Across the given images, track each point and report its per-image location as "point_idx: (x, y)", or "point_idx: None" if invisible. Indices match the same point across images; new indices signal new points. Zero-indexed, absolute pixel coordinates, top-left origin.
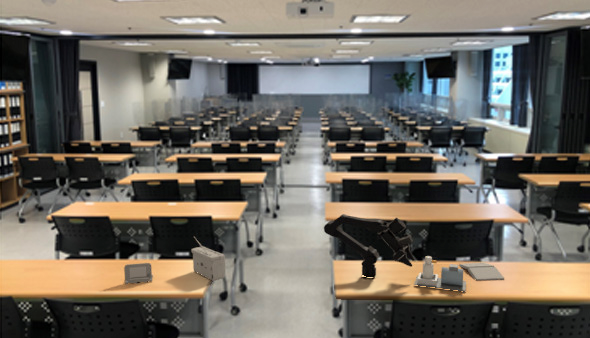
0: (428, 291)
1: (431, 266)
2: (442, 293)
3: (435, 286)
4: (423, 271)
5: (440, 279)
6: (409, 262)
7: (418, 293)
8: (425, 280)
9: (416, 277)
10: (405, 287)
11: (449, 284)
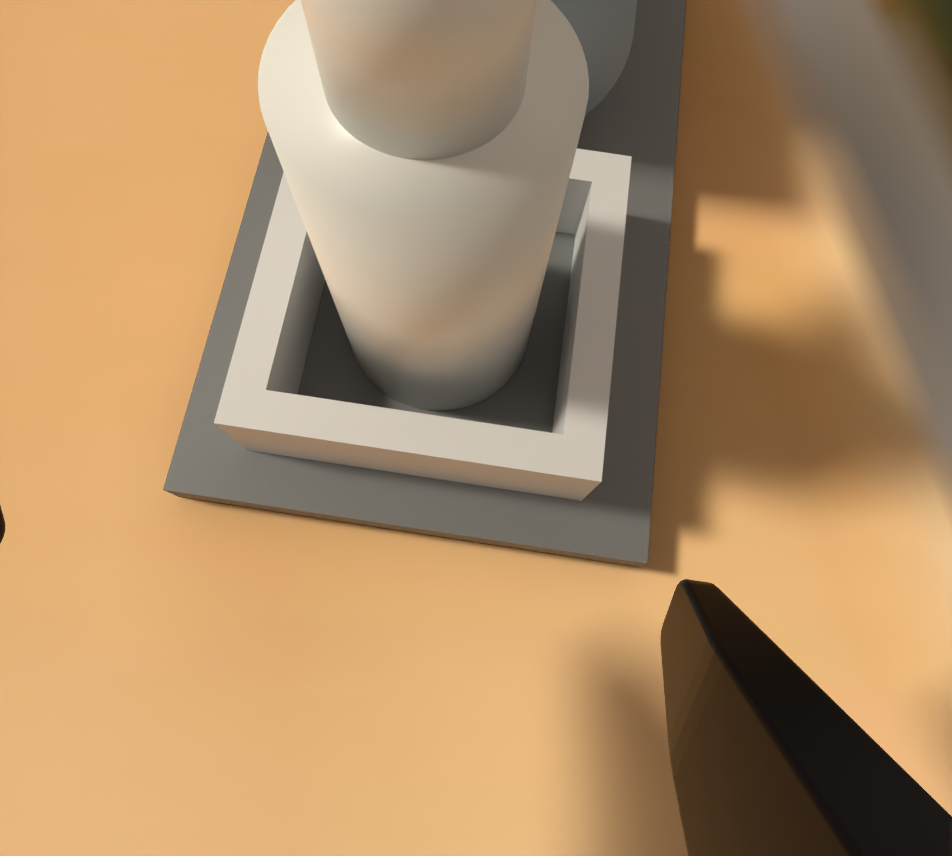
0: (779, 350)
1: (555, 31)
2: (792, 177)
3: (642, 229)
4: (493, 310)
5: None
6: (847, 731)
7: (914, 503)
8: (611, 340)
9: (270, 505)
10: None
11: None
